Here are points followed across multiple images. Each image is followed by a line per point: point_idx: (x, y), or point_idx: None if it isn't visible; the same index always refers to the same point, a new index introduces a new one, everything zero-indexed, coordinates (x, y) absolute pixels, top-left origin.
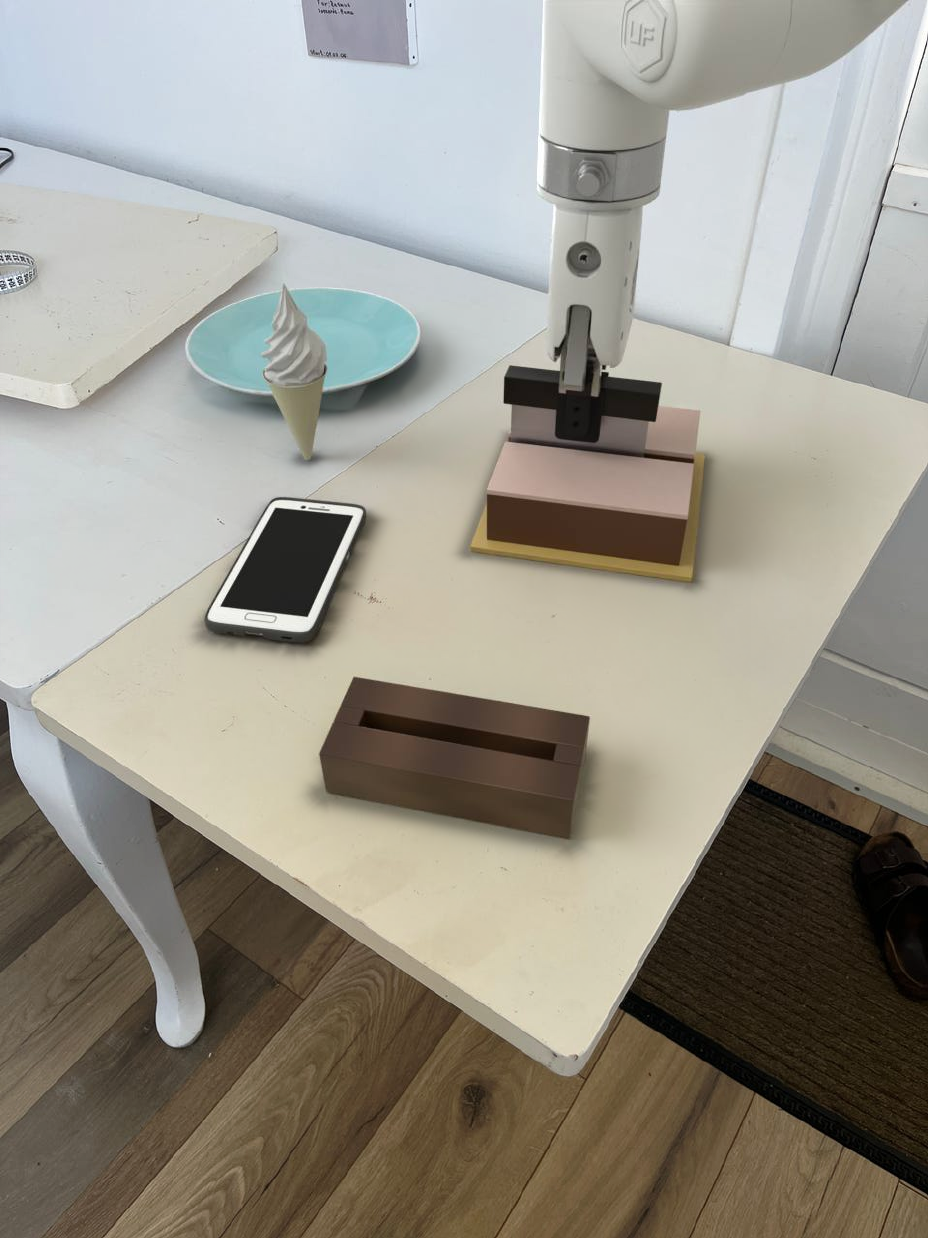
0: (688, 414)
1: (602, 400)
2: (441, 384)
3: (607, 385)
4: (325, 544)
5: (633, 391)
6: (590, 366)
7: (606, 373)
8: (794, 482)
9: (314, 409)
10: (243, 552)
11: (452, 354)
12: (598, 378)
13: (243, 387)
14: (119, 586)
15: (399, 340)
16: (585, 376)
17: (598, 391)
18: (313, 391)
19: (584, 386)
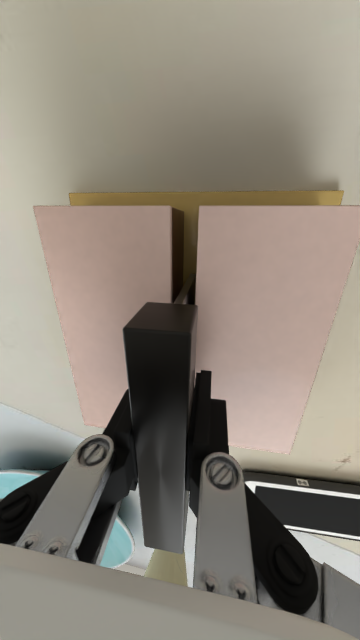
0: (53, 226)
1: (208, 429)
2: (54, 436)
3: (174, 438)
4: (294, 497)
5: (188, 392)
6: (125, 476)
7: (120, 434)
8: (79, 31)
9: (176, 553)
10: (304, 530)
11: (10, 432)
12: (248, 523)
13: (128, 547)
14: (322, 558)
15: (22, 475)
16: (333, 616)
17: (213, 459)
18: (177, 581)
19: (329, 573)
